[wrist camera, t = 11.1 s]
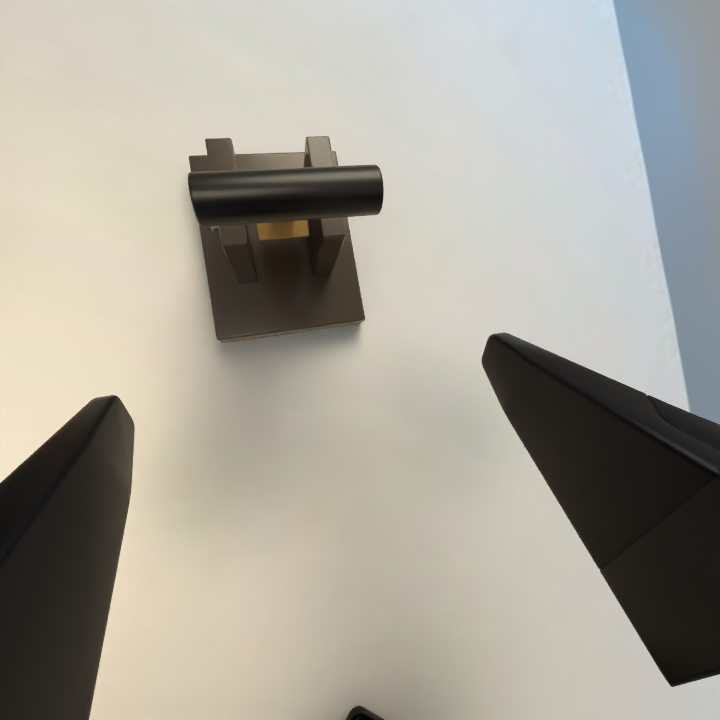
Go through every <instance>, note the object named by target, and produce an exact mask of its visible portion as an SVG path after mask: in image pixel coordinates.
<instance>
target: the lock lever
mask: <svg viewBox="0 0 720 720" xmlns="http://www.w3.org/2000/svg"><path fill="white" fill-rule="evenodd" d="M188 185H189V191H190V197H191V201H192V205H193V209H194V212H195V215H196V218H197V221H198V223H199V225H200V226H201V227H215V226H228V225H242V224H256V229H257V235H258V239H259V240H270V239H282V238H294V237H306V236H309V227H308V220H312V219H325V218H339V217H353V216H367V215H377V214H379V213H380V211H381V208H382V203H383V180H382V175H381V171H380V169H379V167H378V166H377V165H356V166H331V167H306V168H282V169H257V170H232V171H207V172H190V173H189V174H188Z"/></svg>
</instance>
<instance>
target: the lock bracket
mask: <svg viewBox="0 0 720 720" xmlns="http://www.w3.org/2000/svg"><path fill="white" fill-rule="evenodd" d="M205 142H206V148H207V155H202V156H189V162H190V168H191V172H207V171H232V170H257V169H282V168H306V167H331V166H338V162H337V156H336V152H334V151H331V146H330V140H329V137H328V136H322V137H306V143H305V152H299V153H267V154H234V149H233V144H232V140H231V139H230V138H222V139H206V140H205ZM199 227H200V233H201V240H202V246H203V252H204V259H205V265H206V272H207V278H208V285H209V291H210V298H211V304H212V311H213V317H214V324H215V330H216V337H217V340H218V341H220V342H221V343H225V342H232V341H239V340H246V339H254V338H261V337H268V336H275V335H282V334H289V333H296V332H304V331H311V330H318V329H325V328H332V327H339V326H346V325H354V324H360V323H362V322H363V321H364V320H365V316H364V310H363V304H362V299H361V293H360V287H359V282H358V276H357V270H356V265H355V259H354V253H353V248H352V242H351V236H350V230H349V225H348V219H347V217H339V218H325V219H312V220H308V227H309V236H306V237H294V238H282V239H270V240H259V239H258V235H257V229H256V224H242V225H228V226H215V227H201V226H200V225H199Z"/></svg>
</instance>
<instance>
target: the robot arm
mask: <svg viewBox="0 0 720 720" xmlns="http://www.w3.org/2000/svg"><path fill="white" fill-rule="evenodd" d="M482 365H483V368H484V370H485V372H486V374H487V377H488V379H489V381H490V383H491V385H492V387H493V389H494V392H495V394H496V396H497V398H498V400H499V402H500V404H501V406H502V408H503V410H504V412H505V414H506V416H507V418H508V419H509V421H510V423H511V424H512V426H513V428H514V429H515V431H516V433H517V434H518V436H519V438H520V439H521V441H522V443H523V444H524V446H525V448H526V449H527V451H528V452H529V454H530V456H531V457H532V459H533V461H534V462H535V464H536V466H537V467H538V469H539V471H540V472H541V474H542V476H543V477H544V479H545V481H546V482H547V484H548V486H549V487H550V489H551V490H552V492H553V494H554V495H555V497H556V499H557V500H558V502H559V504H560V505H561V507H562V509H563V510H564V512H565V514H566V515H567V517H568V519H569V520H570V522H571V524H572V525H573V527H574V529H575V530H576V532H577V533H578V535H579V537H580V538H581V540H582V542H583V543H584V545H585V547H586V548H587V550H588V552H589V553H590V555H591V557H592V558H593V560H594V562H595V563H596V565H597V567H598V568H599V569H600V572H601V574H602V575H603V577H604V578H605V580H606V582H607V583H608V585H609V587H610V588H611V590H612V592H613V593H614V595H615V597H616V598H617V600H618V602H619V603H620V605H621V607H622V608H623V610H624V612H625V613H626V615H627V617H628V618H629V620H630V621H631V623H632V625H633V626H634V628H635V630H636V631H637V633H638V635H639V636H640V638H641V640H642V641H643V643H644V645H645V646H646V648H647V650H648V651H649V653H650V655H651V656H652V658H653V660H654V661H655V663H656V664H657V666H658V668H659V669H660V671H661V673H662V674H663V676H664V677H665V679H666V680H667V682H668V683H669V684H670V686H672V687H674V686H677V685H681V684H685V683H689V682H692V681H696V680H700V679H704V678H707V677H711V676H715V675H718V674H720V425H719V424H717V423H714V422H712V421H709V420H706V419H704V418H702V417H699V416H696V415H694V414H691V413H689V412H687V411H684V410H682V409H680V408H677V407H675V406H673V405H670V404H668V403H665V402H663V401H661V400H659V399H656V398H654V397H652V396H649V395H648V396H647V395H646V394H645V393H643V392H640V391H638V390H636V389H633V388H631V387H629V386H627V385H624V384H622V383H620V382H617V381H615V380H613V379H611V378H608V377H606V376H604V375H601V374H599V373H597V372H595V371H592V370H590V369H588V368H585V367H583V366H581V365H579V364H576V363H574V362H572V361H569V360H567V359H565V358H563V357H560V356H558V355H556V354H553V353H551V352H549V351H547V350H544V349H542V348H540V347H538V346H535V345H533V344H531V343H528V342H526V341H524V340H522V339H519V338H517V337H515V336H512V335H510V334H508V333H498V334H492V335H491V336H490V337H489V338H488V340H487V343H486V347H485V350H484V353H483V356H482ZM133 449H134V422H133V420H132V418H131V416H130V415H129V413H128V411H127V410H126V408H125V406H124V405H123V403H122V401H121V400H120V399H119V397H117V396H115V395H111V396H104V397H98V398H95V399H93V400H91V401H90V402H89V403H88V404H87V405H86V406H85V407H83V408H82V409H81V410H80V411H79V412H78V413H77V414H76V415H75V416H74V417H72V418H71V419H70V420H69V421H68V422H67V423H66V424H65V425H64V426H63V427H61V428H60V429H59V430H58V431H57V432H56V433H55V434H54V435H53V436H52V437H50V438H49V439H48V440H47V441H46V442H45V443H44V444H43V445H42V446H41V447H40V448H38V449H37V450H36V451H35V452H34V453H33V454H32V455H31V456H30V457H29V458H27V459H26V460H25V461H24V462H23V463H22V464H21V465H20V466H19V467H18V468H16V469H15V470H14V471H13V472H12V473H11V474H10V475H9V476H8V477H7V478H5V479H4V480H3V481H2V482H1V483H0V720H89V716H90V711H91V706H92V700H93V695H94V689H95V684H96V679H97V673H98V668H99V663H100V657H101V652H102V646H103V641H104V636H105V630H106V625H107V620H108V614H109V609H110V604H111V598H112V593H113V587H114V582H115V577H116V571H117V566H118V561H119V555H120V550H121V544H122V539H123V534H124V528H125V523H126V518H127V512H128V507H129V501H130V495H131V484H132V467H133ZM358 718H362V719H361V720H384V719H382V718H380V717H379V716H377V715H375V714H374V713H372V712H370V711H368V710H367V709H365V708H363V707H361V706H358V707H355V708H353V709H352V710H351V712H350V713H349V715H348V717H347V718H346V720H356V719H358Z"/></svg>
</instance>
